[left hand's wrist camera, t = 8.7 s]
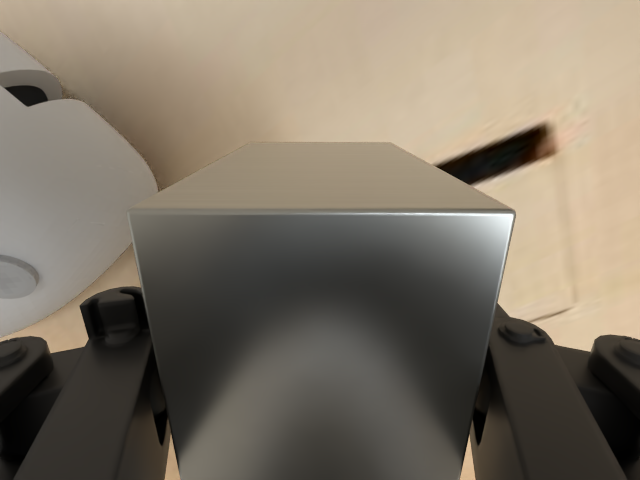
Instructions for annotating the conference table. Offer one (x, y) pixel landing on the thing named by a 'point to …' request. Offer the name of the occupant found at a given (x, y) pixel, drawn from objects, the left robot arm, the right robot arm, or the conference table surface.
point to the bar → (320, 311)
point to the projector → (57, 192)
